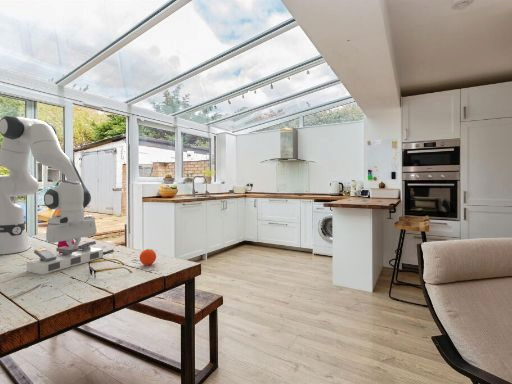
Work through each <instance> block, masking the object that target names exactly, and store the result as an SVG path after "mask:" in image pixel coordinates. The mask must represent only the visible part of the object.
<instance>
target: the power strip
mask: <svg viewBox="0 0 512 384" xmlns="http://www.w3.org/2000/svg"><path fill="white" fill-rule="evenodd" d="M114 251H115V250H114V249H113V248H112V249H108V250H105V251H104V249H103V248H96V247H91V246H89V247H86V248H82V249H79V250H78V251H77V252H73V253H61V254H59V253H57V254H54V255H55V256H57V257H56V260H52V261H48V262H46V261H44V260H43V259H42V258H40V257H39V258H35V259H32V260H27V261H26V272H29V273H34V274H39V275H46V274H49V273H53V272H56V271H60V270H64V269H67V268H70V267H74V266H78V265H82V264H84V263H88V262H91V261H97V260H99V259H102V258H103V257H104V255H106V254H109V252H110V253H113V252H114Z"/></svg>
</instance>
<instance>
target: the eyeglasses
mask: <svg viewBox="0 0 512 384" xmlns="http://www.w3.org/2000/svg"><path fill="white" fill-rule="evenodd" d="M111 261H117V262H118V263H120V264H121V265H124V264H125V263H124V262H122V261H121V260H119V259H115V258H114V259H101V260H99V259H98V260H92V261H89V262H87V265H88V268H89V269H88V270H89V274H90V276H91V275H92V276H93V275H94V277H93V278H94V279H96V273H102V272H106V271H112V270H119V269H125V270H127V271H128V272H129V273H133V271H132V270H131V269H129V268H128V267H125V266H121V267H111V268H104V269H103V268H102V269H94V268H93V267H91V264H96V263H103V262H111Z"/></svg>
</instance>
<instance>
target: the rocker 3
mask: <svg viewBox="0 0 512 384" xmlns="http://www.w3.org/2000/svg"><path fill="white" fill-rule="evenodd" d="M96 244H97V243H96V240H93V241H90V242H86V243H83V244H80V245H78V250H79V249H82V248H86V247H91V246H94V245H96Z"/></svg>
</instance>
